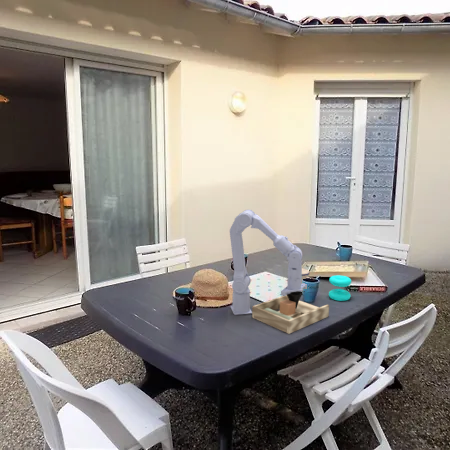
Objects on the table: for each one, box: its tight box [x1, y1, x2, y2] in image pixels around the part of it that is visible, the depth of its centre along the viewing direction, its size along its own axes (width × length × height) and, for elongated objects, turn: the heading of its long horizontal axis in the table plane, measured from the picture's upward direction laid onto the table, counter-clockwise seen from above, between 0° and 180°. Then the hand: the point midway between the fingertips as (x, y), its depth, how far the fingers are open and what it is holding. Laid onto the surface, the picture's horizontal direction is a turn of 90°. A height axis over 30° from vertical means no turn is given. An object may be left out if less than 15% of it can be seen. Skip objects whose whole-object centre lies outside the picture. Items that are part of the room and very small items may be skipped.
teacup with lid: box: [301, 267, 310, 284], centre depth 196 cm, size 12×9×12 cm
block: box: [280, 300, 296, 316], centre depth 161 cm, size 4×4×4 cm
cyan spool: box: [328, 274, 352, 302], centre depth 184 cm, size 10×10×10 cm
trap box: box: [251, 295, 330, 335], centre depth 162 cm, size 25×20×5 cm
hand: (293, 308), depth 163 cm, fingers closed
